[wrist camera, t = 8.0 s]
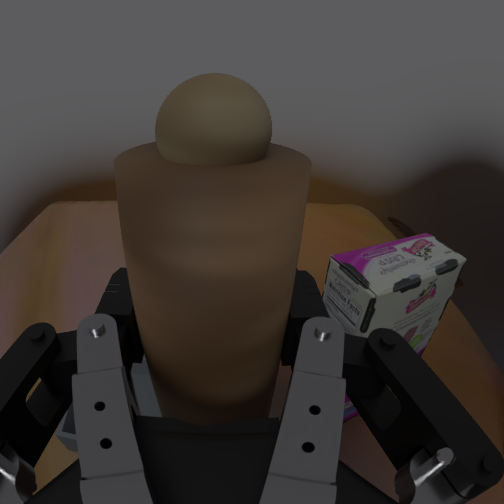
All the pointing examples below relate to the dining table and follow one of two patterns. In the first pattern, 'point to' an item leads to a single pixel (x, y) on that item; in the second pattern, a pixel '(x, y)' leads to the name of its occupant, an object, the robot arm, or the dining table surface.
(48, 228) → the dining table surface
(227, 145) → the pepper mill
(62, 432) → the tray
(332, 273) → the candy bar box
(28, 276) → the dining table surface
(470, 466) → the robot arm
